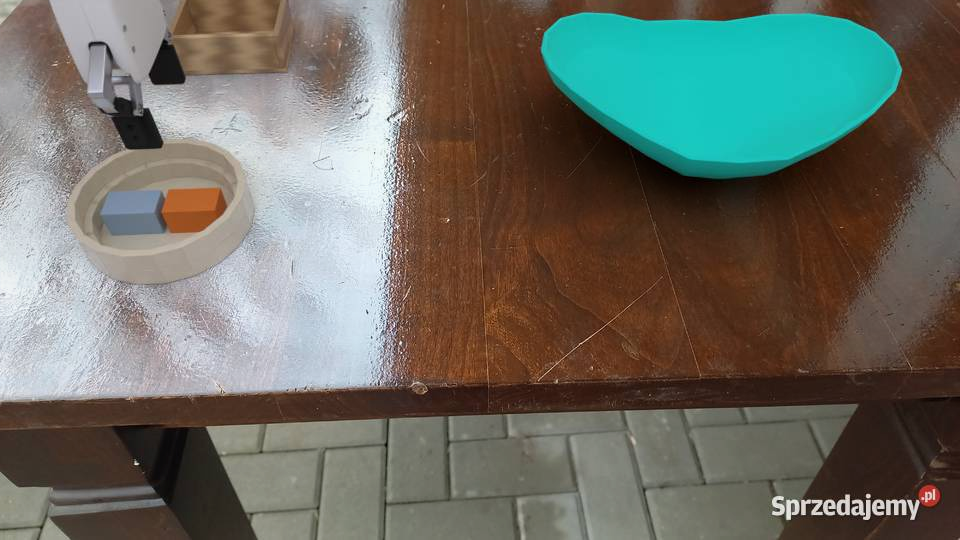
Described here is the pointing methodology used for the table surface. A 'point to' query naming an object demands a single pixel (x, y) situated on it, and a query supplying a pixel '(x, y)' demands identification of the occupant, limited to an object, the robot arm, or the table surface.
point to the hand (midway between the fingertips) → (158, 113)
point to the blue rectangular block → (134, 212)
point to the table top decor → (722, 85)
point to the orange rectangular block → (192, 209)
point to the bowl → (162, 171)
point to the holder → (232, 36)
